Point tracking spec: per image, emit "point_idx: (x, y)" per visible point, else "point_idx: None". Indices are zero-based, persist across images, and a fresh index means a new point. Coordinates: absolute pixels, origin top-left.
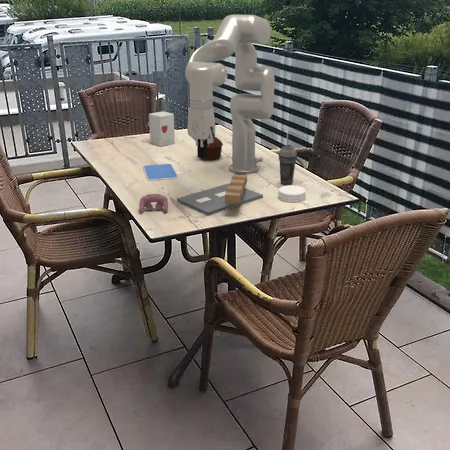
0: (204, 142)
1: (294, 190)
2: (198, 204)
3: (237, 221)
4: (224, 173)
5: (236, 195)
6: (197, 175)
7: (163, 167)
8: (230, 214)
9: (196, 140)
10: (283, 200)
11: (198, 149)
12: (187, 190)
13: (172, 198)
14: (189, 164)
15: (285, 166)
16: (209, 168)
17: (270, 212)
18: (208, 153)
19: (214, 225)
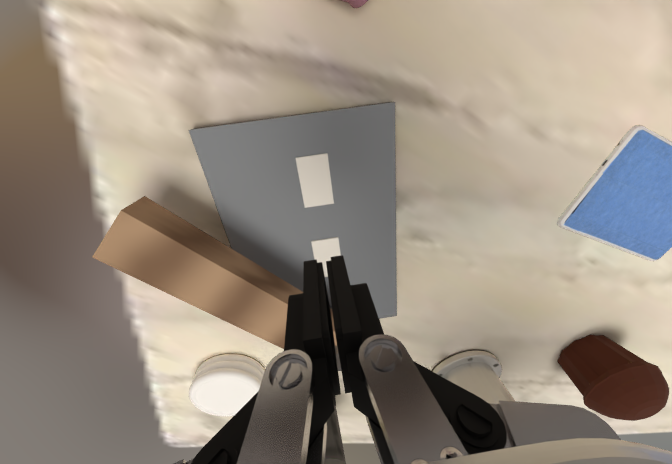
0: (227, 456)
1: (217, 398)
2: (286, 142)
3: (100, 188)
4: (477, 334)
5: (98, 247)
6: (524, 278)
7: (659, 228)
8: (175, 201)
9: (415, 412)
10: (217, 356)
11: (339, 311)
12: (452, 194)
13: (428, 105)
14: (603, 299)
15: None
16: (535, 323)
17: (149, 300)
18: (593, 360)
19: (78, 91)
